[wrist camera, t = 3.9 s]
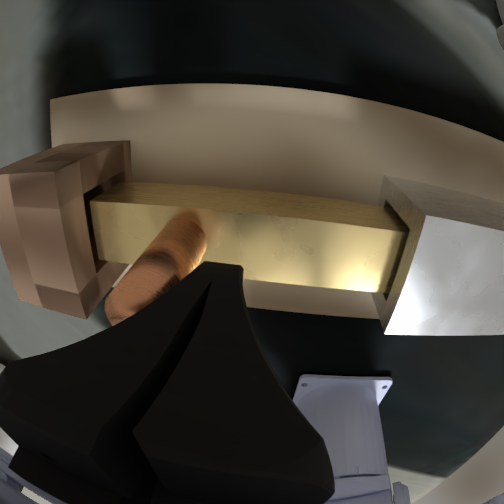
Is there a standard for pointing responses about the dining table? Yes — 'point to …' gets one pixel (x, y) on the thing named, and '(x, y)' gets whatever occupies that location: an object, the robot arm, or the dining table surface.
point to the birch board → (282, 154)
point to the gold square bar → (241, 239)
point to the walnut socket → (60, 224)
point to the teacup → (502, 31)
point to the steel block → (444, 262)
